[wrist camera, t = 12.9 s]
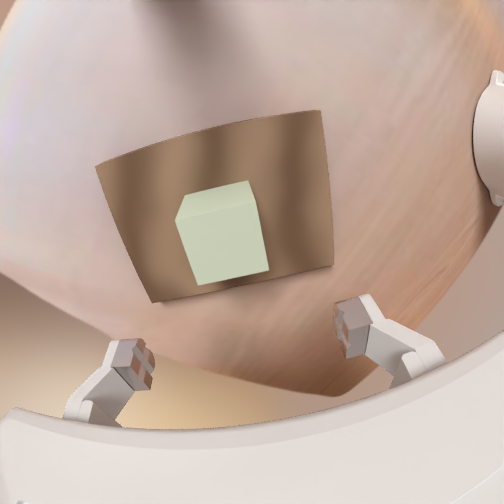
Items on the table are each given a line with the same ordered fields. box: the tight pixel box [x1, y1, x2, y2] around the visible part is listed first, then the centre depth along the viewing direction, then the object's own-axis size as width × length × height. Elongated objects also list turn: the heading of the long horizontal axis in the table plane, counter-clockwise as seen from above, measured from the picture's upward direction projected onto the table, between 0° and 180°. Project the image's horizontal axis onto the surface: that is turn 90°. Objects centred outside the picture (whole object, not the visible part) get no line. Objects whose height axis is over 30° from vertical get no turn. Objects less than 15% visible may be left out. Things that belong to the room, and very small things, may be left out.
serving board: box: [95, 110, 334, 303], centre depth 22 cm, size 18×14×2 cm
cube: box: [175, 180, 269, 285], centre depth 19 cm, size 5×5×5 cm
